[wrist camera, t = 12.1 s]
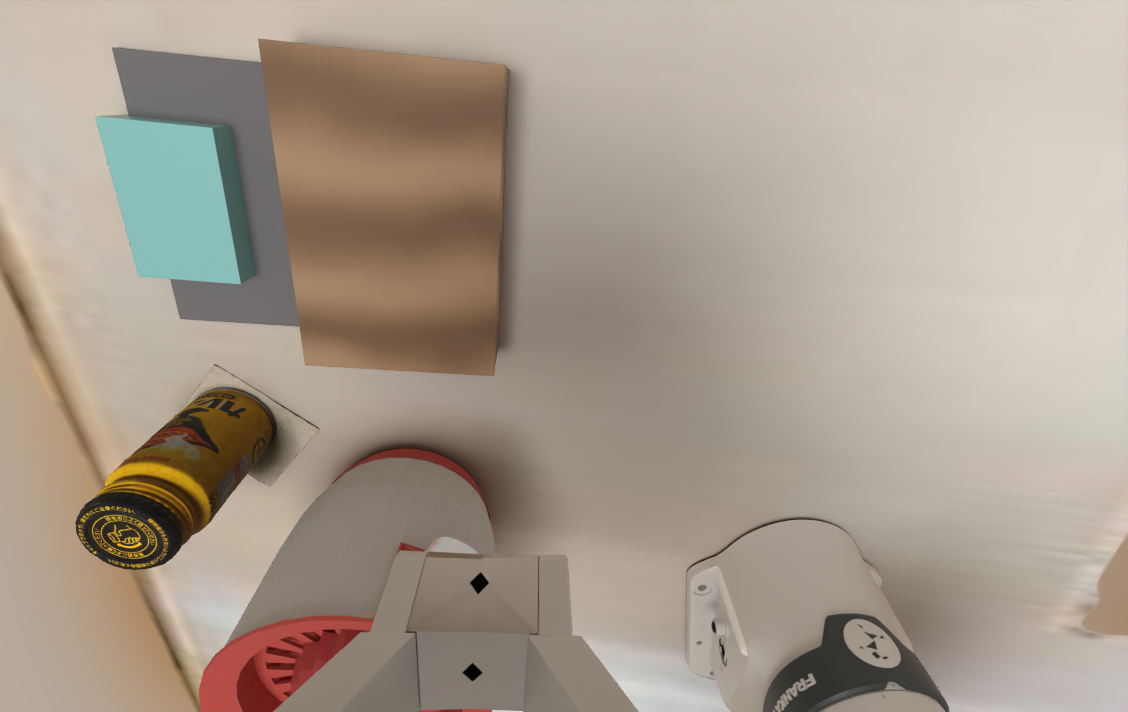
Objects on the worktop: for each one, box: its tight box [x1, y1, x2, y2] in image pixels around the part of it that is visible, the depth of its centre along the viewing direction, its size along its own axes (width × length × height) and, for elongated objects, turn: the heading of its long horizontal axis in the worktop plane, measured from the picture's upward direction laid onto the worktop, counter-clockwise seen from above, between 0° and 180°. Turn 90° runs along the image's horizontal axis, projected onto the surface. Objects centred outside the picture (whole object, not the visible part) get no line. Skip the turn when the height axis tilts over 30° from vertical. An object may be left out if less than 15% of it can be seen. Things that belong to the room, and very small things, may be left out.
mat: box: [112, 48, 300, 326], centre depth 32 cm, size 16×9×1 cm, turn 175°
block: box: [95, 115, 256, 284], centre depth 31 cm, size 9×6×2 cm, turn 174°
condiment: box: [76, 365, 319, 570], centre depth 34 cm, size 7×8×12 cm
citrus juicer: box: [199, 449, 496, 712], centre depth 35 cm, size 16×17×20 cm
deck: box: [258, 39, 509, 376], centre depth 32 cm, size 18×12×4 cm, turn 175°
